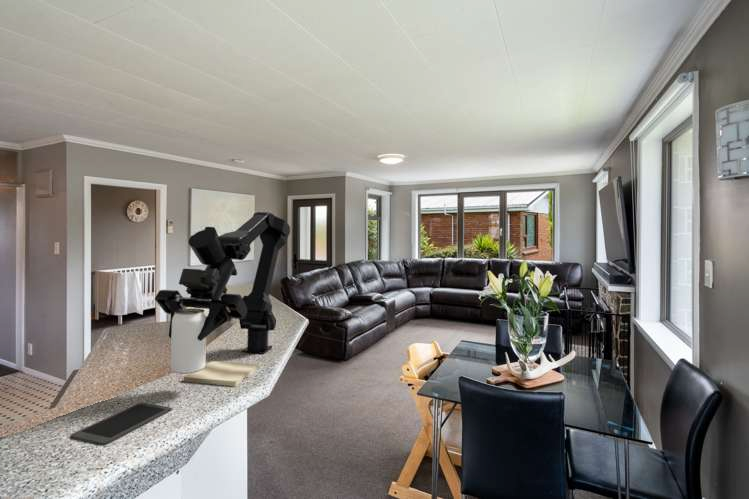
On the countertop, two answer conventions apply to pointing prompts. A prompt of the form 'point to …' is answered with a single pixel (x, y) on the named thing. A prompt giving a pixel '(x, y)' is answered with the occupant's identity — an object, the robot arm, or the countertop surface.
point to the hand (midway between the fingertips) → (184, 338)
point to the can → (187, 341)
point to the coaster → (222, 373)
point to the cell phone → (120, 423)
